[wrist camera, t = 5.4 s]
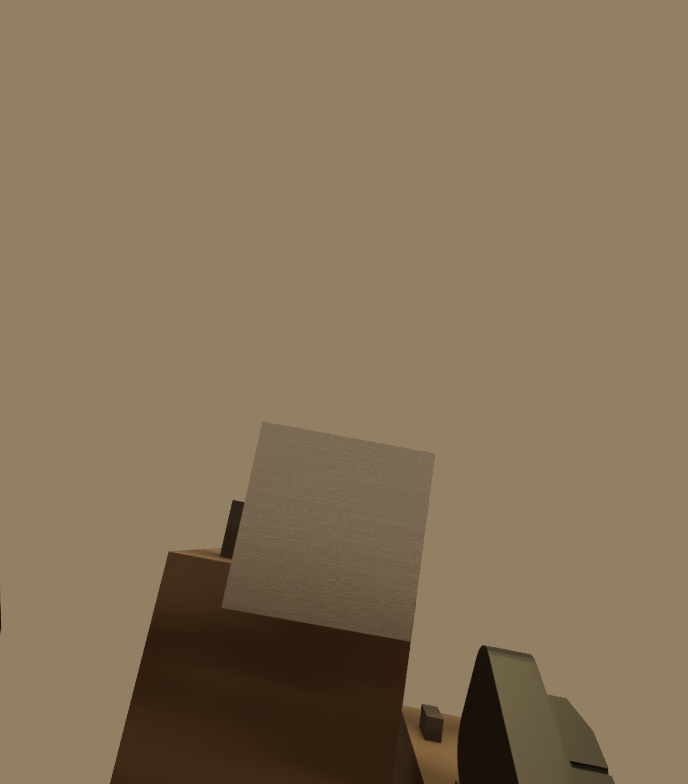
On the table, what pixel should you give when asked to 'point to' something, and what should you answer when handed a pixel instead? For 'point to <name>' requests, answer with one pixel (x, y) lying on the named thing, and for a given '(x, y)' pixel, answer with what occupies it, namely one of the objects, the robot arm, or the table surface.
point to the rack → (270, 695)
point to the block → (331, 532)
